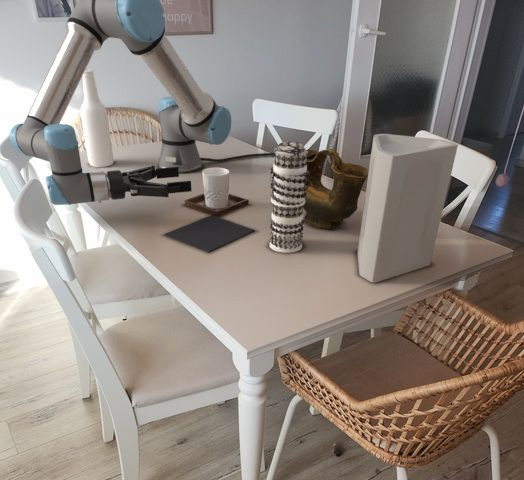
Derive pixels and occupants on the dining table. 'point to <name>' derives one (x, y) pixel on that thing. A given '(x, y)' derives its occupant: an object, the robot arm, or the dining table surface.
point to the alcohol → (95, 124)
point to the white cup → (216, 187)
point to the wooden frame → (193, 204)
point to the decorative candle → (288, 196)
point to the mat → (209, 233)
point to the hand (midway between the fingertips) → (184, 178)
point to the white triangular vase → (403, 204)
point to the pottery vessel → (331, 201)
